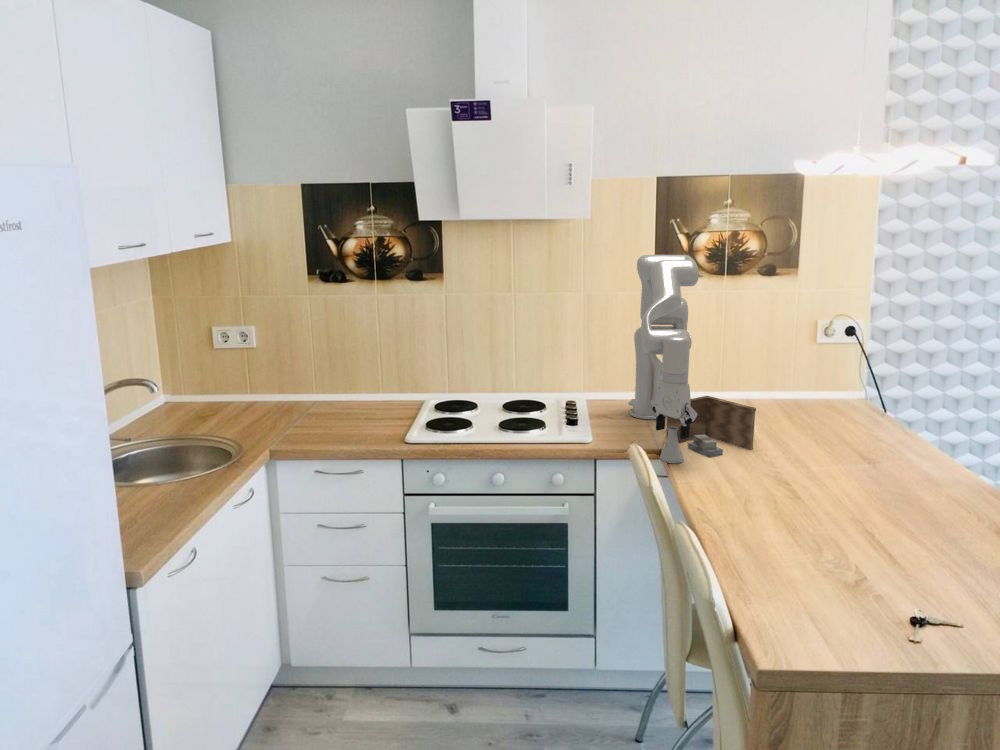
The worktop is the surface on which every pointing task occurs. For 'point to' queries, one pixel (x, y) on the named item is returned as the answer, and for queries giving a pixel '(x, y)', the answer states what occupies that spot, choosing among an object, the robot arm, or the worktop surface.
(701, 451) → the tray
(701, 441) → the offcut top
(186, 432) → the worktop surface
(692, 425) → the brown wooden corner wall
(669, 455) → the flask
